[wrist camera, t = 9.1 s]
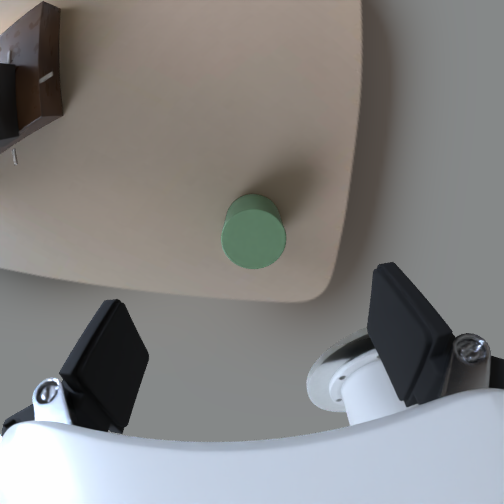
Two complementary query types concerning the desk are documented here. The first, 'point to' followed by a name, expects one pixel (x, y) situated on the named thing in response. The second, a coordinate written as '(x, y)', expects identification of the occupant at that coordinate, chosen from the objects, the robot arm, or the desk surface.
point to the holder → (8, 105)
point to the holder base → (34, 68)
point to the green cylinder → (253, 232)
